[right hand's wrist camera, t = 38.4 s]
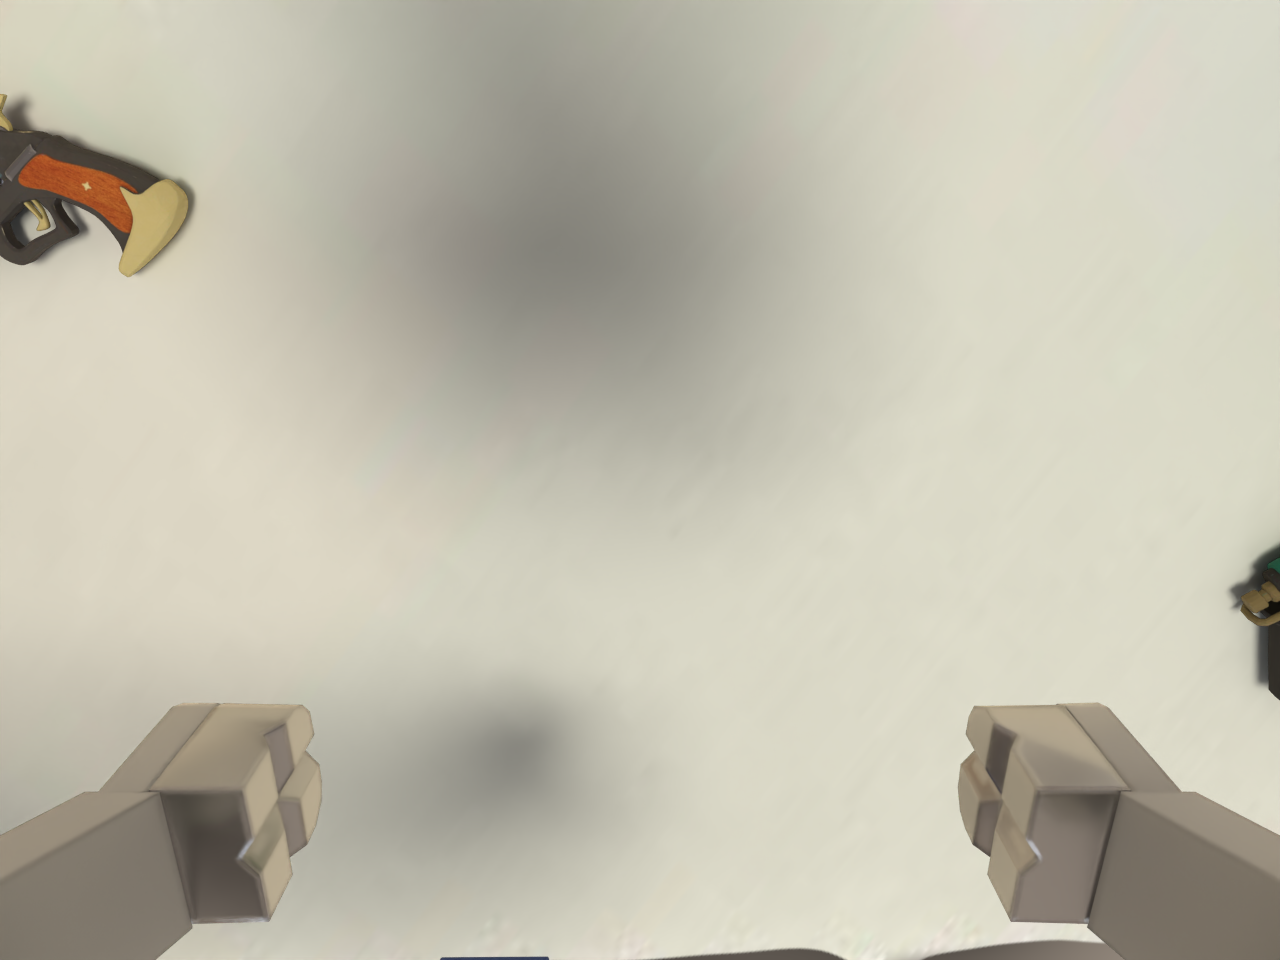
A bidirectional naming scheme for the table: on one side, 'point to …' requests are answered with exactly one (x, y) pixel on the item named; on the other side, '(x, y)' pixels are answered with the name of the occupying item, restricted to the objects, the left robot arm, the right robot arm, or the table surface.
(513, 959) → the brick
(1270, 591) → the spray gun
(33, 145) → the toy gun
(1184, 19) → the table surface
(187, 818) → the right robot arm
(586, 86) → the table surface
